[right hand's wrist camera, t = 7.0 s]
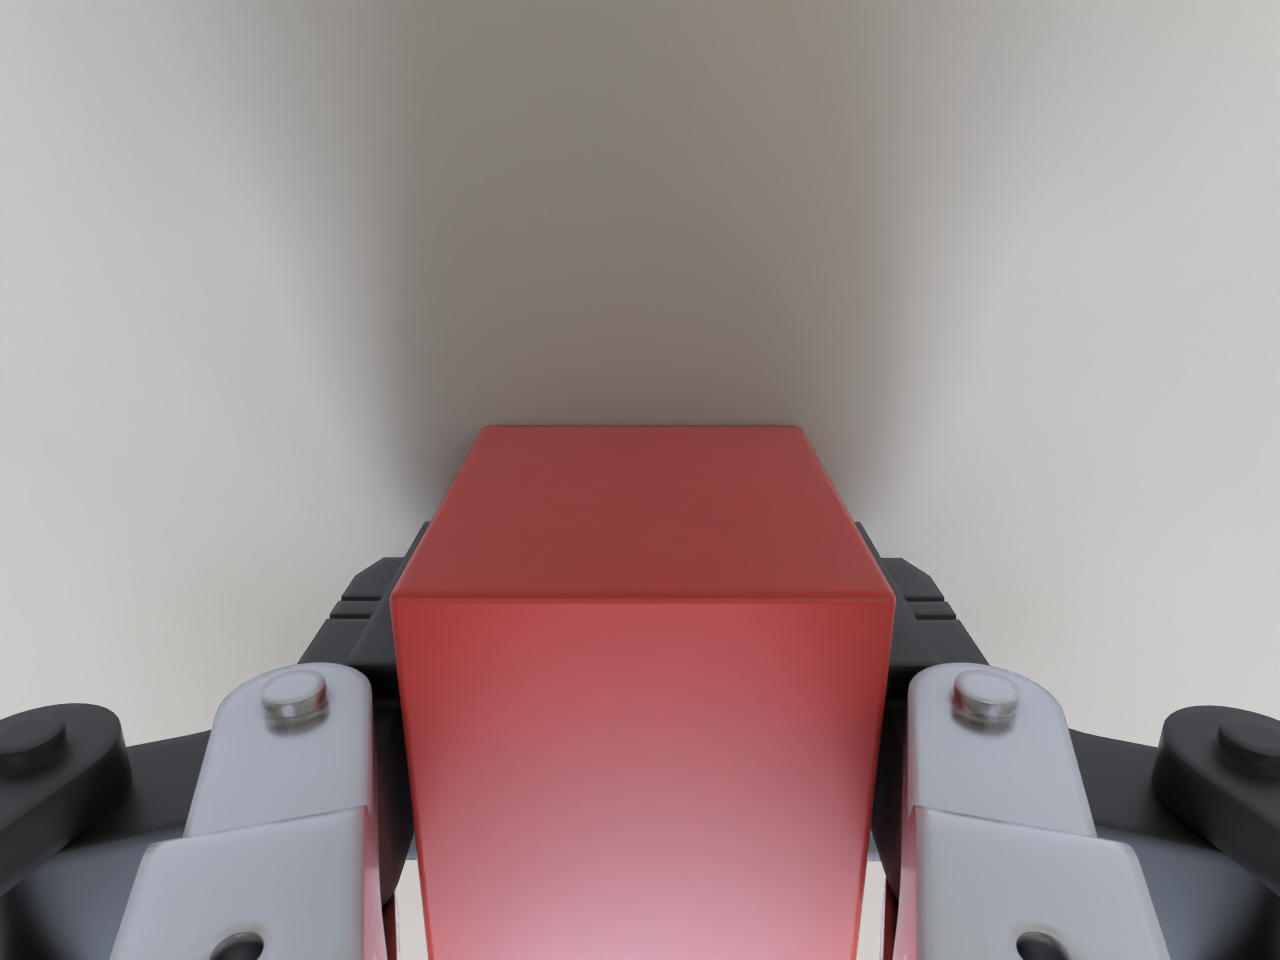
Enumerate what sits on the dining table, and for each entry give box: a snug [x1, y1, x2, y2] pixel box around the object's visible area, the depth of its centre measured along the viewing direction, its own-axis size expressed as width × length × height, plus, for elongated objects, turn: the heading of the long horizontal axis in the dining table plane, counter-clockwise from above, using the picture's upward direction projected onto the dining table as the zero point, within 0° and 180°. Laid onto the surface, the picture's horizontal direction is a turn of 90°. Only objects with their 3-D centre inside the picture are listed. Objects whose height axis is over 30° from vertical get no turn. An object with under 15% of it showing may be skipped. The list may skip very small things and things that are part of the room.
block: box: [389, 426, 896, 960], centre depth 10 cm, size 4×4×5 cm
